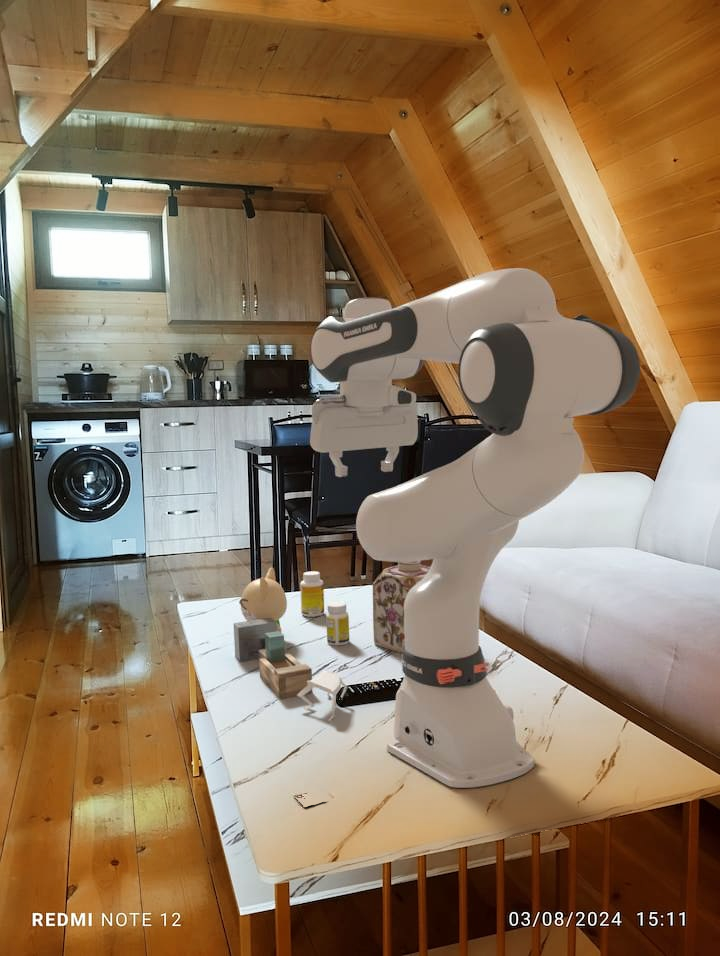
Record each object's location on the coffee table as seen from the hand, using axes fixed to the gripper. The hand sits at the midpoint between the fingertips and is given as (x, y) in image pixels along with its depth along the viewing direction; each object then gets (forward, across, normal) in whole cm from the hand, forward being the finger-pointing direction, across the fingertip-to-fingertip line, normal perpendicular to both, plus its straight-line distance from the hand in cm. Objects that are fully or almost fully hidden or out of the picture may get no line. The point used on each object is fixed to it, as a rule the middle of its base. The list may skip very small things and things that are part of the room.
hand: (364, 473), depth 137 cm
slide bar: (+38, -12, +9) cm, 41 cm away
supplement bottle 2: (+41, +7, +21) cm, 47 cm away
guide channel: (+39, -13, +6) cm, 42 cm away
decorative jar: (+40, +19, +10) cm, 46 cm away
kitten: (+43, -4, +32) cm, 54 cm away
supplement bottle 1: (+44, +13, +43) cm, 63 cm away
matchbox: (+35, -28, -33) cm, 56 cm away
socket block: (+41, -10, +24) cm, 49 cm away
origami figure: (+38, -12, -9) cm, 41 cm away
